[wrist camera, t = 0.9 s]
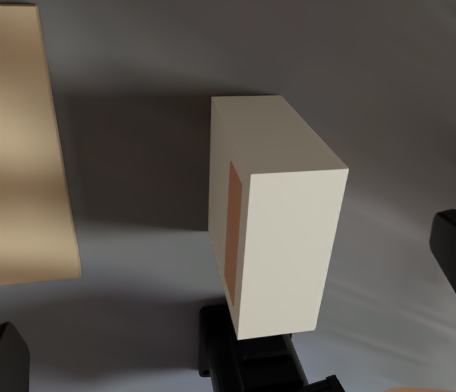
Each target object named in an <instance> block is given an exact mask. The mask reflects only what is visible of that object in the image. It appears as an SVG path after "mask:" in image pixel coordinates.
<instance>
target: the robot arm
mask: <svg viewBox="0 0 456 392" xmlns="http://www.w3.org/2000/svg"><path fill="white" fill-rule="evenodd" d="M429 246H430V249H431V252H432V254H433V255H434V257H435V259H436V260H437V262H438V264H439V266H440V267H441V269H442V271H443V272H444V274H445V276H446V277H447V279H448V281H449V283H450V284H451V286H452V288H453V289H454V291H455V293H456V209H450V210H446V211H442V212H438V213H436V214H435V215H434V217H433V221H432V227H431V233H430V239H429ZM206 314H209V315H206ZM291 337H292V333H287V334H280V335H272V336H264V337H256V338H249V339H241V340H237V336H236V332H235V329H234V325H233V321H232V318H231V314H230V310H229V306H228V304H226V305H217V306H208V307H204V308H202V309H201V310H200V312H199V353H198V370H199V375H200V376H201V377H211V381H212V386H213V391H214V392H345V391H344V389H343V387H342V385H341V384H340V382H339V380H338V379H337V377H336V375H332V376H328V377H326V379H325V380H321V381H318V382H315V383H312V384H309V383H308V381H307V378H306V376H305V373H304V371H303V368H302V366H301V363H300V361H299V358H298V356H297V353H296V351H295V348H294V346H293V343H292V341H291ZM29 365H30V355H29V349H28V346H27V344H26V343H25V341H24V340H23V338H22V337H21V335H20V334H19V332H18V331H17V329H16V328H15V326H14V325H13V323H11V322H10V321H4V322H0V392H29Z"/></svg>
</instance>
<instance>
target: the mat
mask: <svg viewBox="0 0 456 392" xmlns="http://www.w3.org/2000/svg"><path fill="white" fill-rule="evenodd" d="M81 272H82V269H81V263H80V257H79V251H78V245H77V239H76V233H75V227H74V221H73V215H72V209H71V203H70V197H69V191H68V185H67V179H66V173H65V167H64V161H63V156H62V150H61V144H60V138H59V132H58V126H57V120H56V114H55V108H54V102H53V96H52V90H51V84H50V78H49V72H48V66H47V60H46V54H45V48H44V42H43V36H42V30H41V24H40V18H39V12H38V6H37V4H0V285H8V284H19V283H29V282H40V281H50V280H61V279H71V278H81Z"/></svg>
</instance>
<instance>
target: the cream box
mask: <svg viewBox="0 0 456 392" xmlns="http://www.w3.org/2000/svg"><path fill="white" fill-rule="evenodd" d="M348 171H349V168H348V167H347V166H346V165H345V164H344V163H343V162H342V161H341V160H340V159H339V158H338V157H337V155H336V154H335V153H334V152H333V151H332V150H331V149H330V148H329V147H328V146H327V145H326V144H325V143H324V141H323V140H322V139H321V138H320V137H319V136H318V135H317V134H316V133H315V132H314V131H313V130H312V129H311V127H310V126H309V125H308V124H307V123H306V122H305V121H304V120H303V119H302V118H301V117H300V116H299V115H298V113H297V112H296V111H295V110H294V109H293V108H292V107H291V106H290V105H289V104H288V103H287V102H286V100H285V99H284V98H283V97H282V96H281V95H271V96H223V97H212V98H211V137H210V177H209V216H208V233H209V236H210V240H211V244H212V248H213V251H214V255H215V259H216V262H217V266H218V270H219V273H220V277H221V281H222V284H223V288H224V292H225V295H226V299H227V303H228V306H229V310H230V314H231V318H232V321H233V325H234V329H235V332H236V336H237V340H241V339H249V338H256V337H264V336H272V335H280V334H287V333H295V332H303V331H310V330H315V327H316V323H317V318H318V313H319V308H320V304H321V299H322V294H323V289H324V285H325V280H326V275H327V270H328V266H329V261H330V256H331V251H332V247H333V242H334V237H335V232H336V228H337V223H338V218H339V213H340V209H341V204H342V199H343V194H344V190H345V185H346V180H347V175H348Z"/></svg>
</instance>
